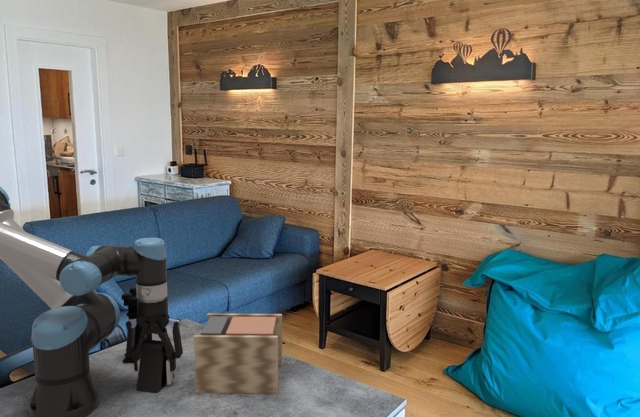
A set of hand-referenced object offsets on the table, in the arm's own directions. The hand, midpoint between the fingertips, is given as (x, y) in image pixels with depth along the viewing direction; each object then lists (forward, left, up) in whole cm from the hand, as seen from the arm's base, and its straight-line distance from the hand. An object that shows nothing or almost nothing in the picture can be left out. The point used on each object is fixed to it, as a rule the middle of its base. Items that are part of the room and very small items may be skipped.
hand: (155, 382), depth 137 cm
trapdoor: (+22, +4, +10) cm, 25 cm away
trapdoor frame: (+22, +4, -1) cm, 22 cm away
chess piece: (-9, +16, -1) cm, 18 cm away
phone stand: (0, 0, -1) cm, 1 cm away
